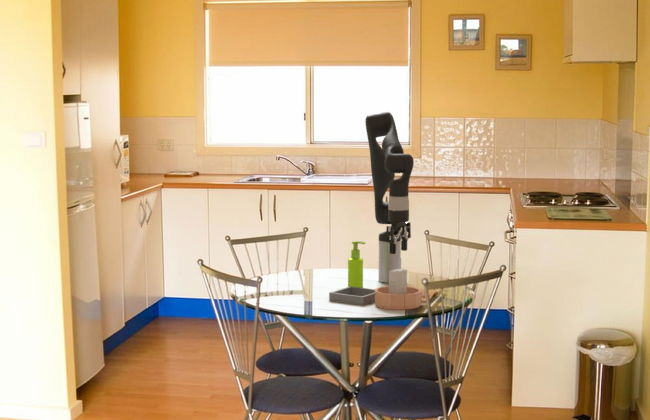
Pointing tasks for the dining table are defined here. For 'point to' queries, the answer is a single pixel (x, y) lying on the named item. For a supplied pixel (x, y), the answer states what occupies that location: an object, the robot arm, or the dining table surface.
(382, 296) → the bowl
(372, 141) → the robot arm
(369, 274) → the dining table surface
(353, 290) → the parts tray
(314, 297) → the dining table surface
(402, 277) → the skincare box
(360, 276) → the soap dispenser
